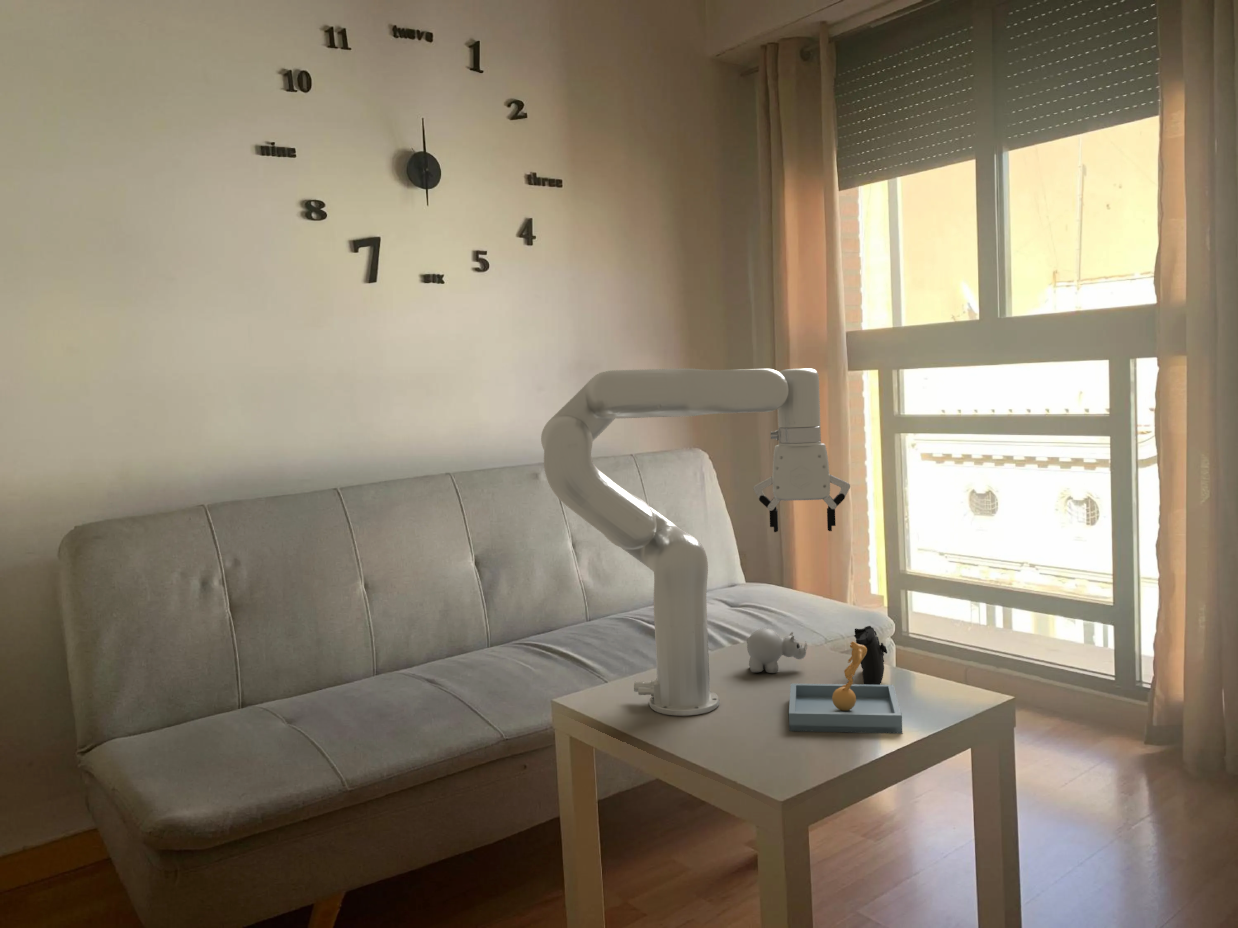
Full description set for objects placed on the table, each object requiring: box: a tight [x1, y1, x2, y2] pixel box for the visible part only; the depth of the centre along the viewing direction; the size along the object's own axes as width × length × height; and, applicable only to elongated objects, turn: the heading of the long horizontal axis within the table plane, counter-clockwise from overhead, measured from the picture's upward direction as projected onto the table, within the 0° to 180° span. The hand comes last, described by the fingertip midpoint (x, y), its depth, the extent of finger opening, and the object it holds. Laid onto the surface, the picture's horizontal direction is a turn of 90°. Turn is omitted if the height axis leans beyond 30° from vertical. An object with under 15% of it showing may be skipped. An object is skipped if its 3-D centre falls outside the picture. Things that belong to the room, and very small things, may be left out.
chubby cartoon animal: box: [746, 627, 808, 674], centre depth 194 cm, size 7×12×8 cm, turn 84°
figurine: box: [832, 641, 867, 711], centre depth 166 cm, size 8×6×12 cm
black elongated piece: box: [853, 625, 888, 685], centre depth 184 cm, size 14×6×10 cm, turn 168°
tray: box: [788, 683, 903, 734], centre depth 166 cm, size 18×16×3 cm
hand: (802, 530), depth 177 cm, fingers open, 9 cm apart
